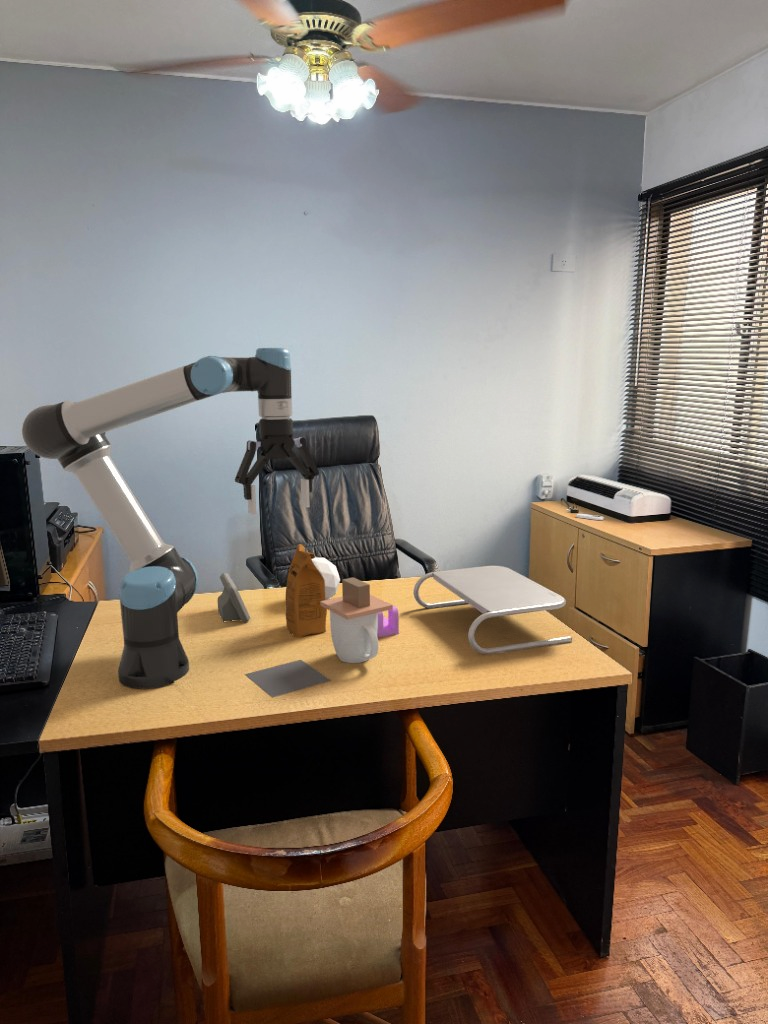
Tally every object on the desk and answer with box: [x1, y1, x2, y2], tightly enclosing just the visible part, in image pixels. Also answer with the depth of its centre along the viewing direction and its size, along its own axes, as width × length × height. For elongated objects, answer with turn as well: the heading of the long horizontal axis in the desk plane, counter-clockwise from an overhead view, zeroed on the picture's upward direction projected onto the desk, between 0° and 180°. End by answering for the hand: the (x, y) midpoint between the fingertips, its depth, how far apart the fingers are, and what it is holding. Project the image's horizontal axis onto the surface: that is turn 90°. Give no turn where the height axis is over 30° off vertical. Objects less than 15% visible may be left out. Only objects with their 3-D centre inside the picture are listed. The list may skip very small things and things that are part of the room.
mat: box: [244, 659, 332, 698], centre depth 158 cm, size 14×14×1 cm
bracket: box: [377, 605, 400, 638], centre depth 189 cm, size 13×6×7 cm, turn 21°
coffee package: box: [285, 543, 328, 638], centre depth 186 cm, size 10×12×22 cm
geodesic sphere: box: [312, 556, 341, 600], centre depth 209 cm, size 14×14×14 cm
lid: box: [320, 577, 394, 620], centre depth 164 cm, size 12×12×6 cm
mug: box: [329, 610, 379, 664], centre depth 166 cm, size 15×11×13 cm
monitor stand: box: [413, 565, 573, 655], centre depth 189 cm, size 37×28×11 cm
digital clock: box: [217, 572, 251, 623], centre depth 198 cm, size 16×9×11 cm, turn 10°
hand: (279, 510), depth 167 cm, fingers open, 13 cm apart
